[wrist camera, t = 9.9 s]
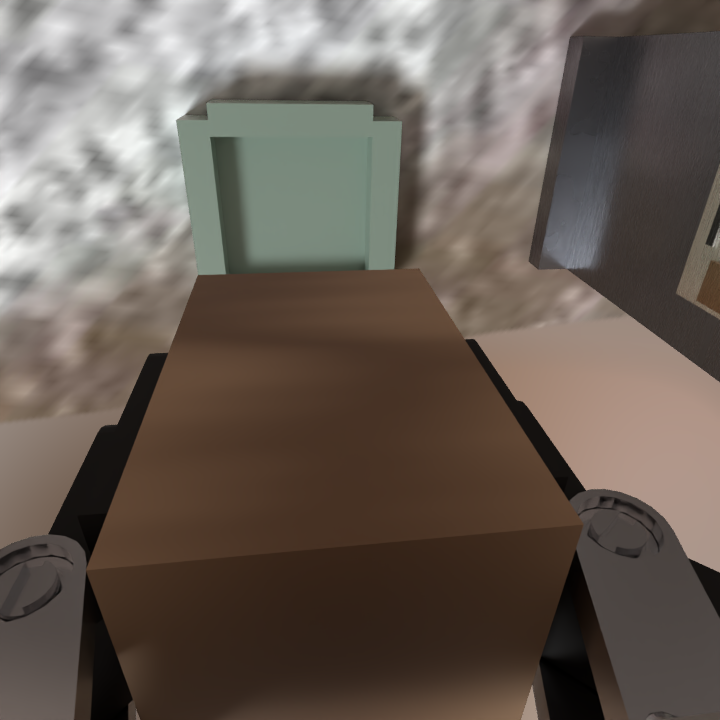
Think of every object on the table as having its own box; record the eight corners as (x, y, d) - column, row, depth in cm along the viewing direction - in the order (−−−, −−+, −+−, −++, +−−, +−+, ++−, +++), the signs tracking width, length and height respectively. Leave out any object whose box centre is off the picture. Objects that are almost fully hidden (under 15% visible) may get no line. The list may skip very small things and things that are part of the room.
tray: (209, 298, 26) (203, 315, 24) (182, 99, 22) (173, 102, 20) (385, 292, 27) (392, 308, 26) (393, 101, 23) (403, 105, 21)
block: (223, 451, 13) (171, 805, 7) (197, 275, 10) (86, 570, 4) (405, 438, 13) (509, 755, 7) (418, 268, 11) (583, 523, 5)
